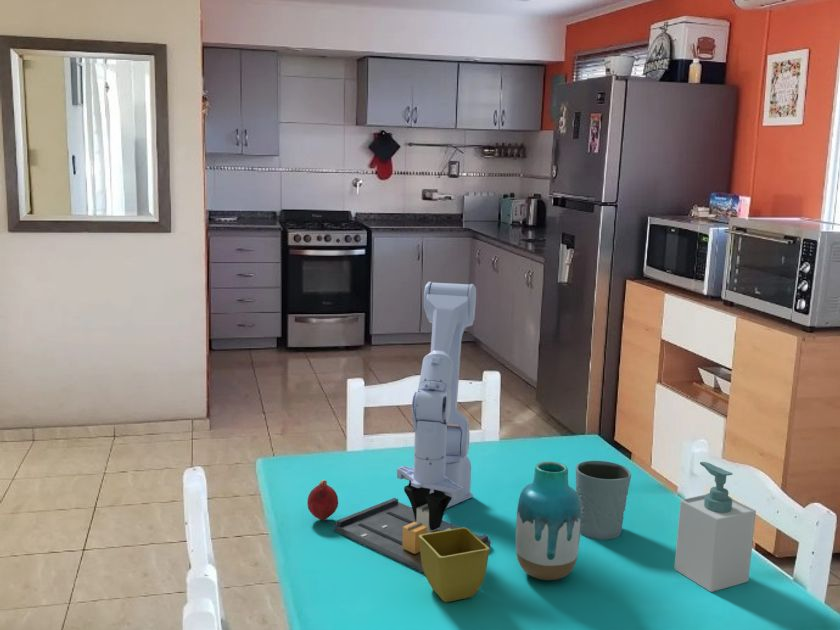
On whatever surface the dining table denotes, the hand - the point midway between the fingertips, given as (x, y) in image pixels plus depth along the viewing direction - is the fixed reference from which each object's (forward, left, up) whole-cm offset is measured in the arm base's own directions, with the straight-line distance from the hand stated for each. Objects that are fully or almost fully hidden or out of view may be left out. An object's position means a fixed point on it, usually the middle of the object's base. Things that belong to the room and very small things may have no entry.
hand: (427, 525), depth 159 cm
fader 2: (0, 0, -1) cm, 1 cm away
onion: (+9, -18, -2) cm, 21 cm away
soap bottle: (-24, +44, -2) cm, 50 cm away
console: (+3, -1, -2) cm, 4 cm away
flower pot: (+12, +17, -2) cm, 21 cm away
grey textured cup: (-26, +21, -2) cm, 33 cm away
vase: (-4, +24, -2) cm, 24 cm away
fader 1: (+7, +4, -1) cm, 8 cm away
